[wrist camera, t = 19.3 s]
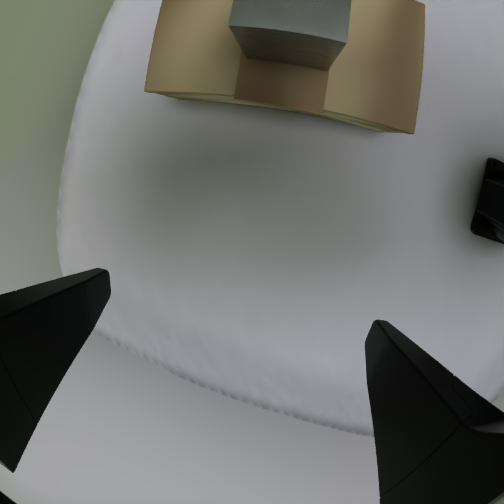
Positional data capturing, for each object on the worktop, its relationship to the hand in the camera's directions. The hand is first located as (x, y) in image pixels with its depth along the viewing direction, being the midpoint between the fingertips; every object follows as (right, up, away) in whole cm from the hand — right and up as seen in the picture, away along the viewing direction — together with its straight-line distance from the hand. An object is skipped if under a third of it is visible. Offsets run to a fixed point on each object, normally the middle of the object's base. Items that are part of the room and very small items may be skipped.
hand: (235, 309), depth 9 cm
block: (+2, +13, +2) cm, 13 cm away
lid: (+2, +13, +3) cm, 14 cm away
